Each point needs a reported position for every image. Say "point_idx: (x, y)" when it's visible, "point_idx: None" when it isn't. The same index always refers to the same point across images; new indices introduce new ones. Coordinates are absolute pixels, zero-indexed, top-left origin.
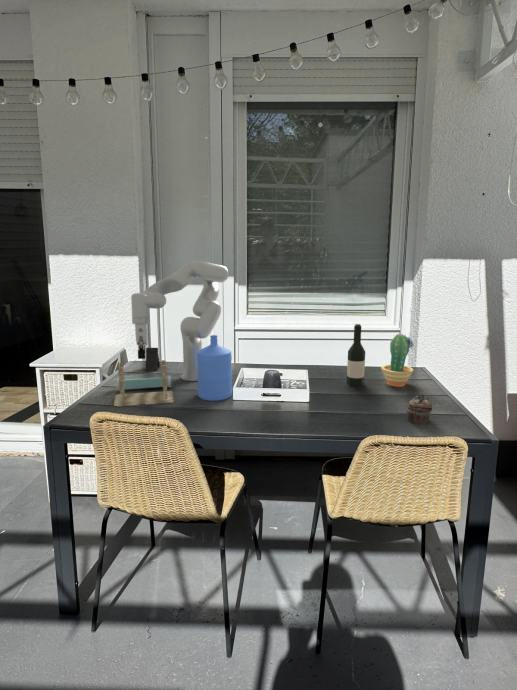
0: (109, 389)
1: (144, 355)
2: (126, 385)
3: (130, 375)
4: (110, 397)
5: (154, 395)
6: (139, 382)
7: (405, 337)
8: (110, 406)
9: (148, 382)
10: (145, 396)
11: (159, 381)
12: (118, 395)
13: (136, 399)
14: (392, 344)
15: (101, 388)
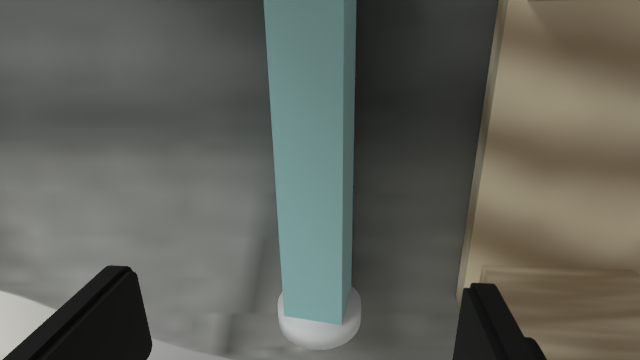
0: None
1: (512, 328)
2: (347, 267)
3: (13, 224)
4: (437, 320)
5: (588, 75)
6: (345, 193)
7: None
8: None
9: (347, 125)
10: (582, 142)
11: (347, 29)
12: None
13: (622, 201)
14: None
15: (263, 357)
